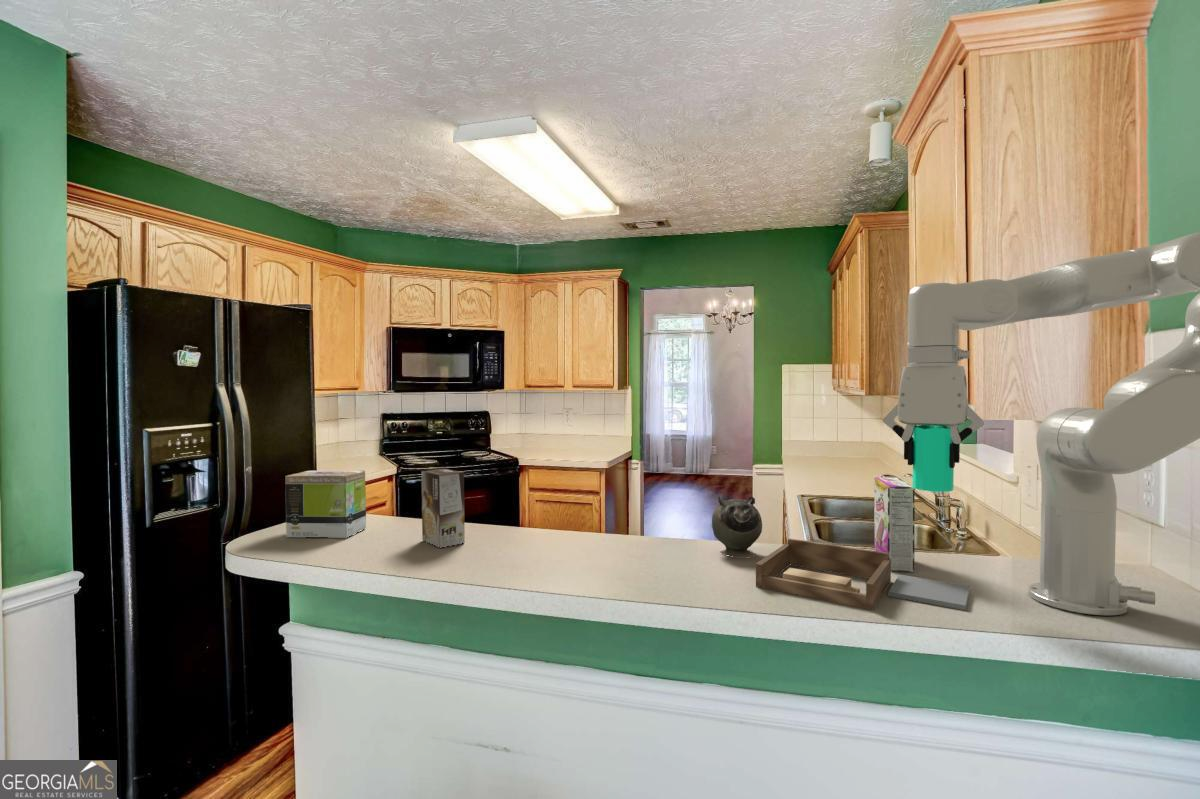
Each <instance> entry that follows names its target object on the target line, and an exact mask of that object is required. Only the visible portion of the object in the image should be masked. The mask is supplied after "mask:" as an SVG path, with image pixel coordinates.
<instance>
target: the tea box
mask: <svg viewBox="0 0 1200 799" xmlns="http://www.w3.org/2000/svg"><path fill="white" fill-rule="evenodd" d="M284 477H285V482H284V483H285V485H284V486H285V490H284V491H285V494H284V495H285V526H286V527H285V528H286V531H285V532H286V538H306V537H328V538H327V539H331V538H332V539H348V538H350V537H349V536H351V535H353V534H355V533H357V532H359V531H360V530H362V529H365V528H366V529H367V501H366V500H367V497H366V495H367V494H366V470H360V469H359V470H357V469H356V470H354V469H353V470H305V471H301V472H298V473H292V474H288V475H285V476H284ZM366 529H365V530H366ZM359 533H360V532H359ZM357 534H358V533H357ZM355 535H356V534H355ZM353 536H354V535H353ZM347 537H348V538H347ZM351 537H352V536H351Z"/></svg>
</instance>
